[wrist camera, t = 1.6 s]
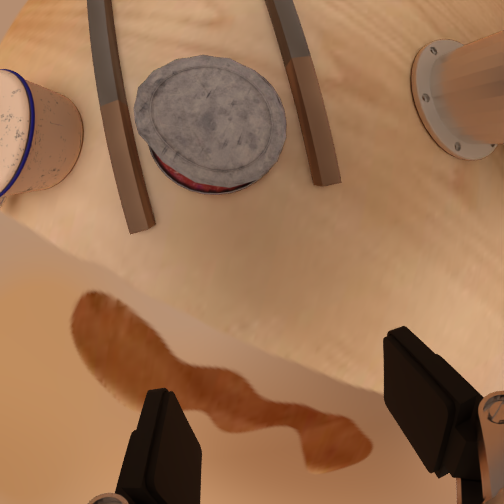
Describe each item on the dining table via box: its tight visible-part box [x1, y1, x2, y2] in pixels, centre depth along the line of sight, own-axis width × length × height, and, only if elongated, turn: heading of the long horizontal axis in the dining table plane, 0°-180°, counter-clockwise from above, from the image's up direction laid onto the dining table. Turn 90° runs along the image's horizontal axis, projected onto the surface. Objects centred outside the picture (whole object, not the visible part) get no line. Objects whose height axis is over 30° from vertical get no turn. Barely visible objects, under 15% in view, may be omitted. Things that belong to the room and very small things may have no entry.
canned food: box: [134, 55, 286, 195], centre depth 21 cm, size 11×10×10 cm
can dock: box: [87, 0, 342, 234], centre depth 20 cm, size 16×30×2 cm, turn 13°
